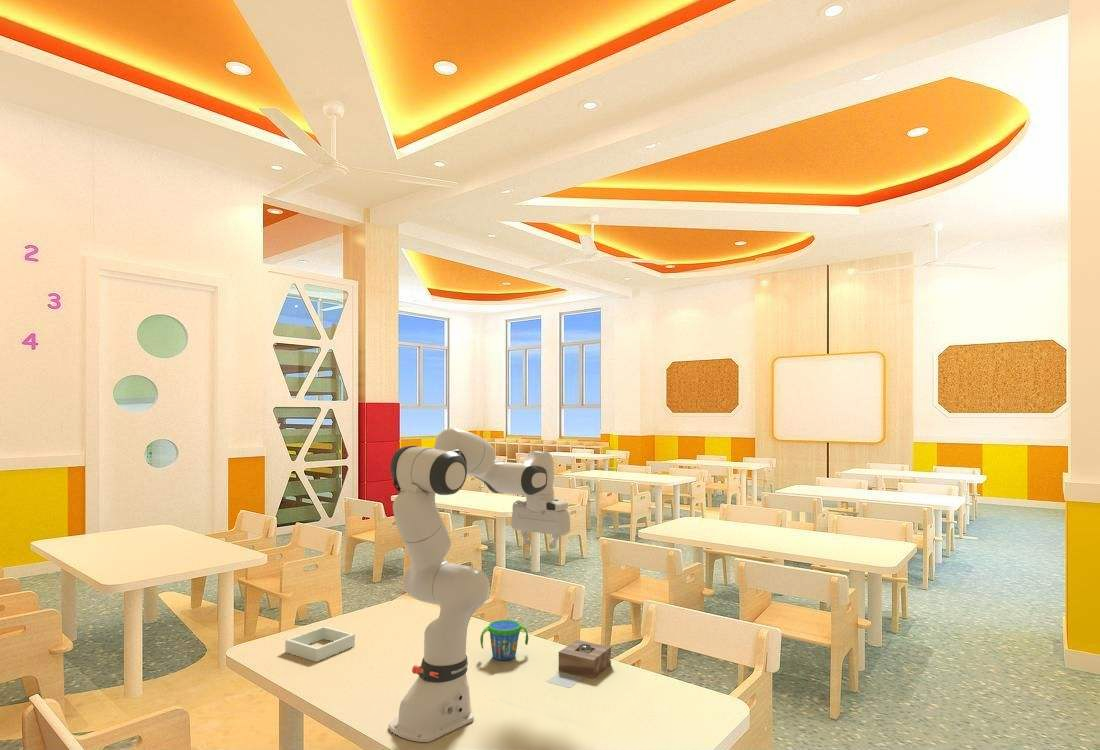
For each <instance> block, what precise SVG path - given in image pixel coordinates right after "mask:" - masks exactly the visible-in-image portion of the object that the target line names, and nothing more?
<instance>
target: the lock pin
mask: <svg viewBox="0 0 1100 750" xmlns="http://www.w3.org/2000/svg"><path fill="white" fill-rule="evenodd" d="M579 652H583V653H587V654H589V653H590V652H591V646H590V645H588V644H581V645H579Z"/></svg>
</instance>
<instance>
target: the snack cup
mask: <svg viewBox="0 0 1100 750" xmlns="http://www.w3.org/2000/svg"><path fill="white" fill-rule="evenodd" d="M522 629H523V630H524V632H525V641H524V643H525V645H526V646H527V645H528V643H529V633H528V630H527V629H526V627H525V626H524V625H522V624H521V623H519V622H518V621H516V620H511V619H499V620H494V621H491V622H490V623H489V624H488V626H486V627H485V628H483V630H482V632H481V634H480V639H479V642H480V646H481V649H484V645H483V643H484V634H485V633H487V632H489V637H490V638H489V640H490V646H491V647H490V648H491V653H492V654H491V656H492V658H494V660H499V661H508V660H513V659H514V658H515V657H516V655H517V649H518V644H519V643H518V641H519V638H520V637H519V636H520V632H521V630H522Z"/></svg>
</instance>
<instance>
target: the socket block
mask: <svg viewBox="0 0 1100 750" xmlns="http://www.w3.org/2000/svg"><path fill="white" fill-rule="evenodd" d="M581 644H588V645H590V646H591V652H590V653H589V654H587V653H583V652H579V645H581ZM610 659H611V660H610ZM611 665H612V647H611V646H609V645H603V644H598V643H596V642H595V643H593V642H590V641H589V642H588V641H585V640H581V639H576V640H575V641H572V642H571V643H570V644H569V645H567V646H565V647H564V648H563V649H561V650H560V651H558V671H559V672H563V673H567V674H571V675H575V676H579V677H583V678H584V677H585V678H589V679H593V680H594V679H595V678H597V677H598V676H599V675H600V674H602V673H603V672H604V671H605V670H607V668H609V667H610V666H611Z"/></svg>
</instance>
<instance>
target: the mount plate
mask: <svg viewBox="0 0 1100 750" xmlns="http://www.w3.org/2000/svg"><path fill="white" fill-rule="evenodd" d="M581 680H583V676H579V675H575V674H571V673H567V672H563V671H559V672H558V673H556V674H555V675H553V676H551V678H549V679H548V680H546V681H545V682H546V683H549V684H554V685H558V686H560V687H565V688H568V689H571V688H572V687H574V686H575V685H576V684H577V683H578V682H580V681H581Z"/></svg>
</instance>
